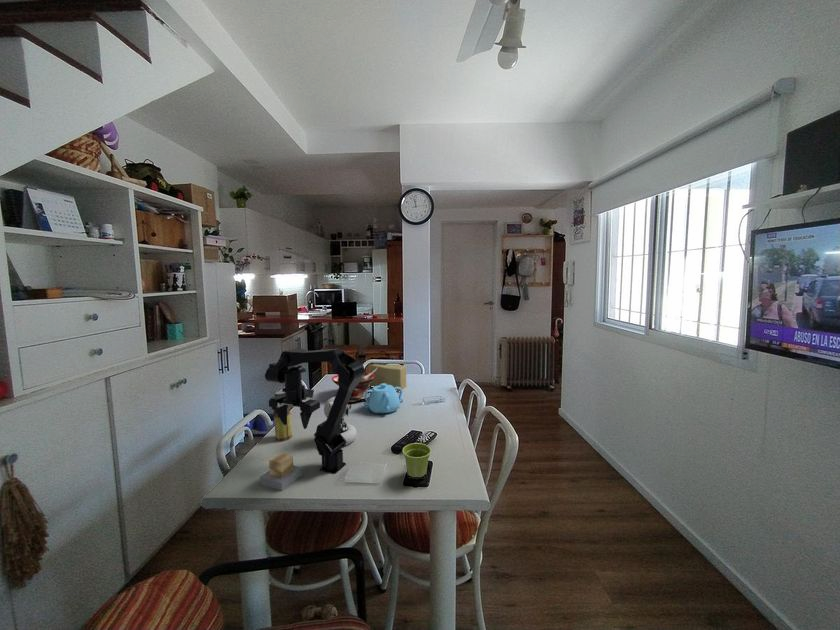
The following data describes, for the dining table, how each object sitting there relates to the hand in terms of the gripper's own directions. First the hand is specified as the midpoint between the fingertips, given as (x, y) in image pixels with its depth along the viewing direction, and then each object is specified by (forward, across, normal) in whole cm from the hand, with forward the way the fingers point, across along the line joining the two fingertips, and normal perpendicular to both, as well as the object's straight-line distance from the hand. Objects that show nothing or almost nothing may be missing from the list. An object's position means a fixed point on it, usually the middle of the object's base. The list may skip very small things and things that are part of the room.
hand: (295, 426), depth 118 cm
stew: (+12, +15, -63) cm, 66 cm away
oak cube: (+10, -5, +12) cm, 16 cm away
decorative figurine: (+12, -6, -17) cm, 22 cm away
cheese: (+12, +6, -81) cm, 83 cm away
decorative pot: (+12, -8, -52) cm, 54 cm away
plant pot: (+12, -45, -6) cm, 47 cm away
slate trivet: (+12, -5, +12) cm, 18 cm away
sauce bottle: (+12, +16, -10) cm, 23 cm away
